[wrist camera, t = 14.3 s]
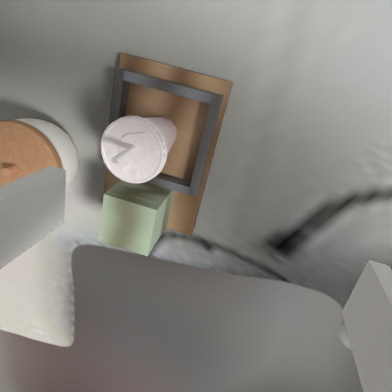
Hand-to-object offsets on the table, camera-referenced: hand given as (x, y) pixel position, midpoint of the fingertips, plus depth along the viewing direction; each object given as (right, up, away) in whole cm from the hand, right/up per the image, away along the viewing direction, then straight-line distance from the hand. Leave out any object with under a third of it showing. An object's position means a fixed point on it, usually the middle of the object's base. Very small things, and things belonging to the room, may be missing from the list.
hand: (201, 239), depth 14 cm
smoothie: (-4, +10, +25) cm, 27 cm away
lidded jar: (-19, +8, +30) cm, 37 cm away
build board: (-5, +8, +27) cm, 28 cm away
